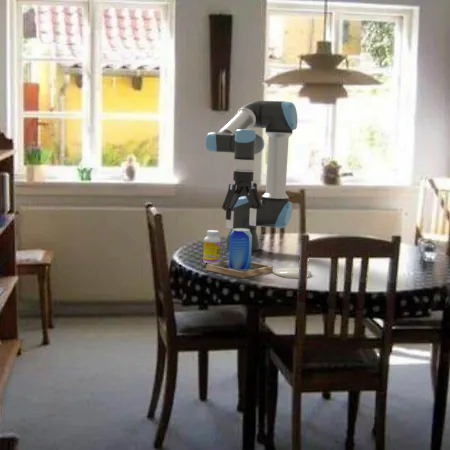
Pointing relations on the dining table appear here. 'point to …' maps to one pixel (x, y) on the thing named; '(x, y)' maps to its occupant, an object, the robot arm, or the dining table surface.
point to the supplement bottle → (212, 247)
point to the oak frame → (258, 270)
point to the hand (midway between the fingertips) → (241, 227)
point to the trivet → (288, 272)
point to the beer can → (240, 249)
